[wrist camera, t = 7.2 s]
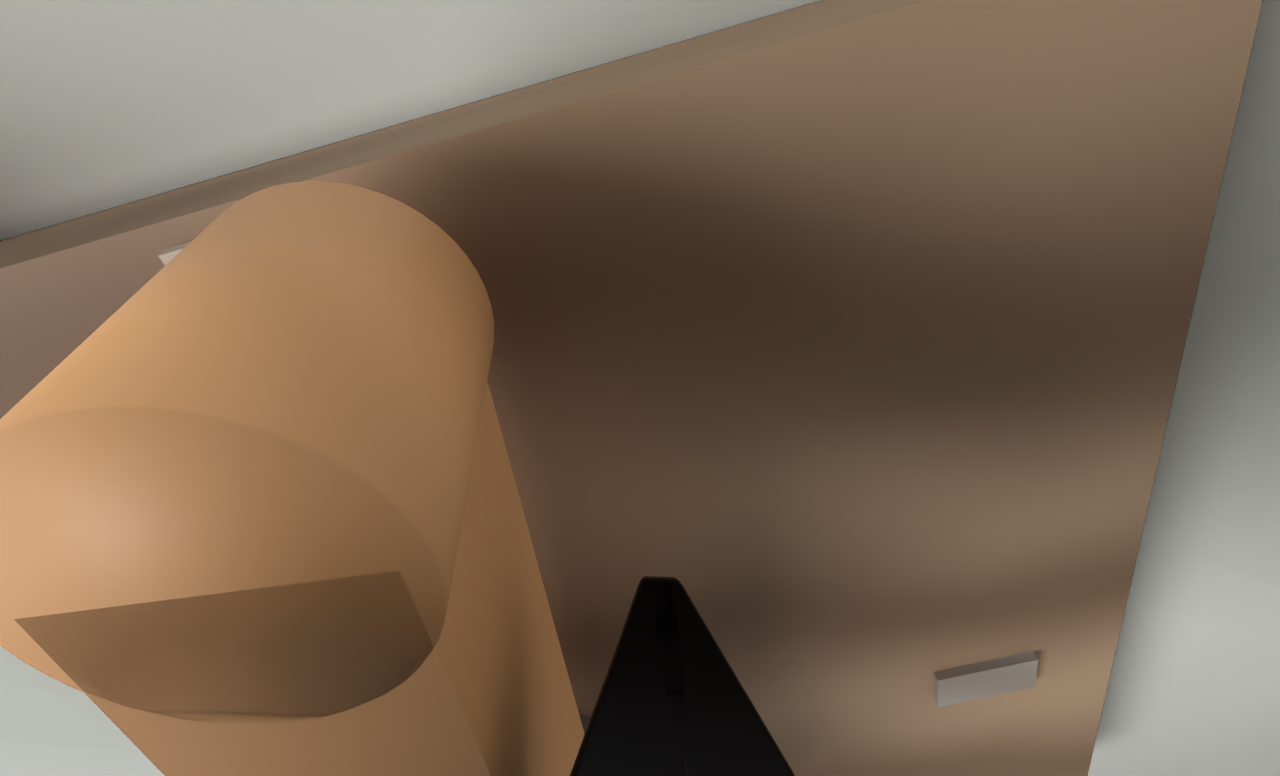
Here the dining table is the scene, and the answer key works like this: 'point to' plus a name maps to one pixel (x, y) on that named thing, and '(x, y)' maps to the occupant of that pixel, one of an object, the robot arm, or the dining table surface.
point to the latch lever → (289, 510)
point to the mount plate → (811, 343)
